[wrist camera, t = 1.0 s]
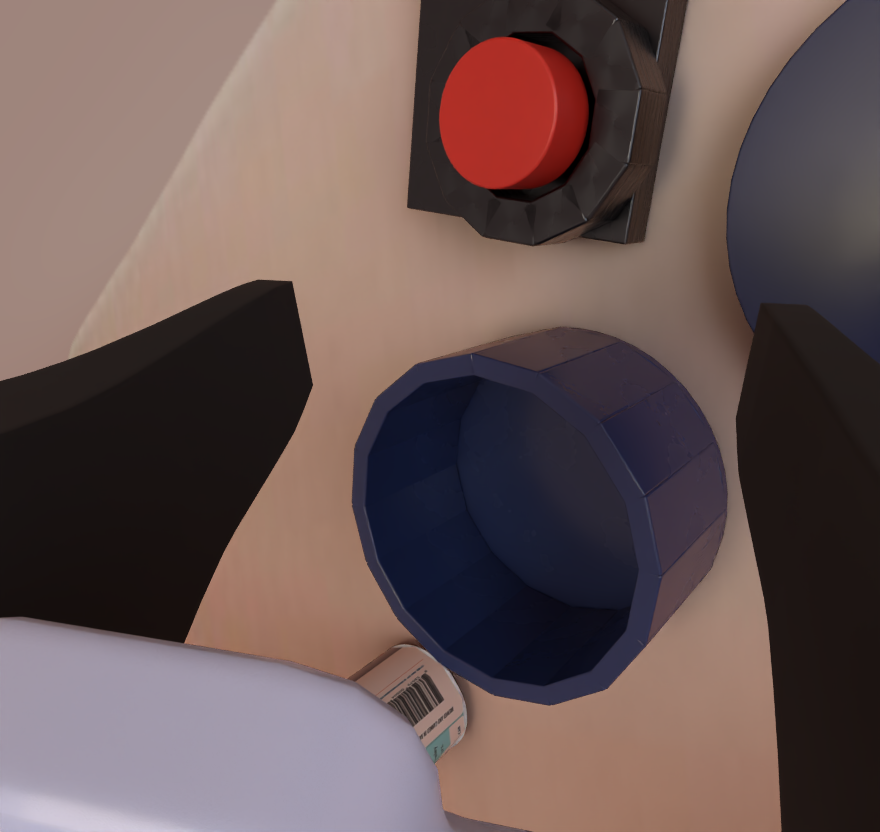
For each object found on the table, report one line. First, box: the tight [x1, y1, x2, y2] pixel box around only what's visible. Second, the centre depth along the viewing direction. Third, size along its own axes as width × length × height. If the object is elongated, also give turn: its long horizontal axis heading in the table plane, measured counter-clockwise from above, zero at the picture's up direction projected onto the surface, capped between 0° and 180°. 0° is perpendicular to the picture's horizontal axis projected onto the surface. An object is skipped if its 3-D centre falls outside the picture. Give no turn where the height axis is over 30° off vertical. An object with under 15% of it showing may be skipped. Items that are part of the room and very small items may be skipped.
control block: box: [407, 0, 687, 246], centre depth 21 cm, size 10×8×3 cm
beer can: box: [348, 644, 467, 764], centre depth 27 cm, size 5×5×12 cm
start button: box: [439, 37, 589, 189], centre depth 19 cm, size 4×4×2 cm
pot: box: [352, 327, 727, 705], centre depth 23 cm, size 10×10×5 cm
